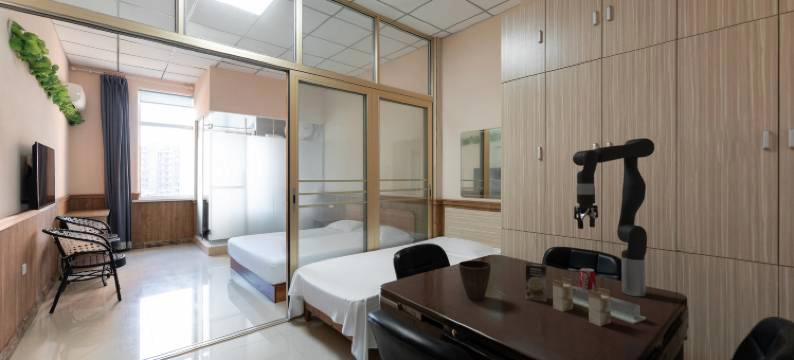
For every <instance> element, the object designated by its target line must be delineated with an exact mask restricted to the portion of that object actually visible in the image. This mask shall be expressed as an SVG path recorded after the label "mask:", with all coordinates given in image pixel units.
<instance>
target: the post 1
mask: <svg viewBox="0 0 794 360" xmlns="http://www.w3.org/2000/svg"><path fill="white" fill-rule="evenodd" d="M572 286H573V279H571V278H566V277H561V281H560V280H557V279H554V278H553V279H552V308H553V309H554V310H557V311H560V312H563V313H564V312H566V311H570V310H572V309H574V303H573V291H572Z"/></svg>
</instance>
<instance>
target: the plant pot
mask: <svg viewBox="0 0 794 360" xmlns="http://www.w3.org/2000/svg"><path fill="white" fill-rule="evenodd" d="M458 266H459V267H458V268H459V273H460V278H461V283H462V285H463V288H464V291H465V294H466V296H467V299H469V298H470V299H469V300H472V299H473V300H472V301H480V300H483V299H484V298H485V294H486V292H487V289H488V285H489V281H490V274H491V266H492V264H491V263H489V262H487V261H482V260H465V261H464V260H463V261H460V262H459V263H458Z"/></svg>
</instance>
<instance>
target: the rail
mask: <svg viewBox="0 0 794 360" xmlns="http://www.w3.org/2000/svg"><path fill="white" fill-rule="evenodd" d="M572 291H573V300H576V301H579V302H582V303H585V304H588V305H589V299H588V290H586V289H583V288H579V286H576V285H572ZM610 301H611V312H612V313H615V314H618V315H621V316H624V317H627V318H630V319H633V320H635V319H638V318H640V316H641V309H640V308H641V306H640V305H639V304H636V303H633V302H630V301H627V300H623V299H620V298H616V297H613V296H610Z"/></svg>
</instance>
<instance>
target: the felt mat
mask: <svg viewBox="0 0 794 360" xmlns="http://www.w3.org/2000/svg"><path fill="white" fill-rule="evenodd" d="M574 304H575V305H577V306H581V307H584V308H586V309H589V305H588V304H585V303H582V302H579V301H576V300H573V305H574ZM612 317H613V318H615V319H618V320H621V321H624V322H626V323H629V324H636V323H639V322H642V321H645V320H647V317H646V316H642V315H640V318H638V319H635V320H633V319H630V318H627V317H624V316H621V315H618V314H615V313H612V312H611V318H612Z"/></svg>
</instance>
